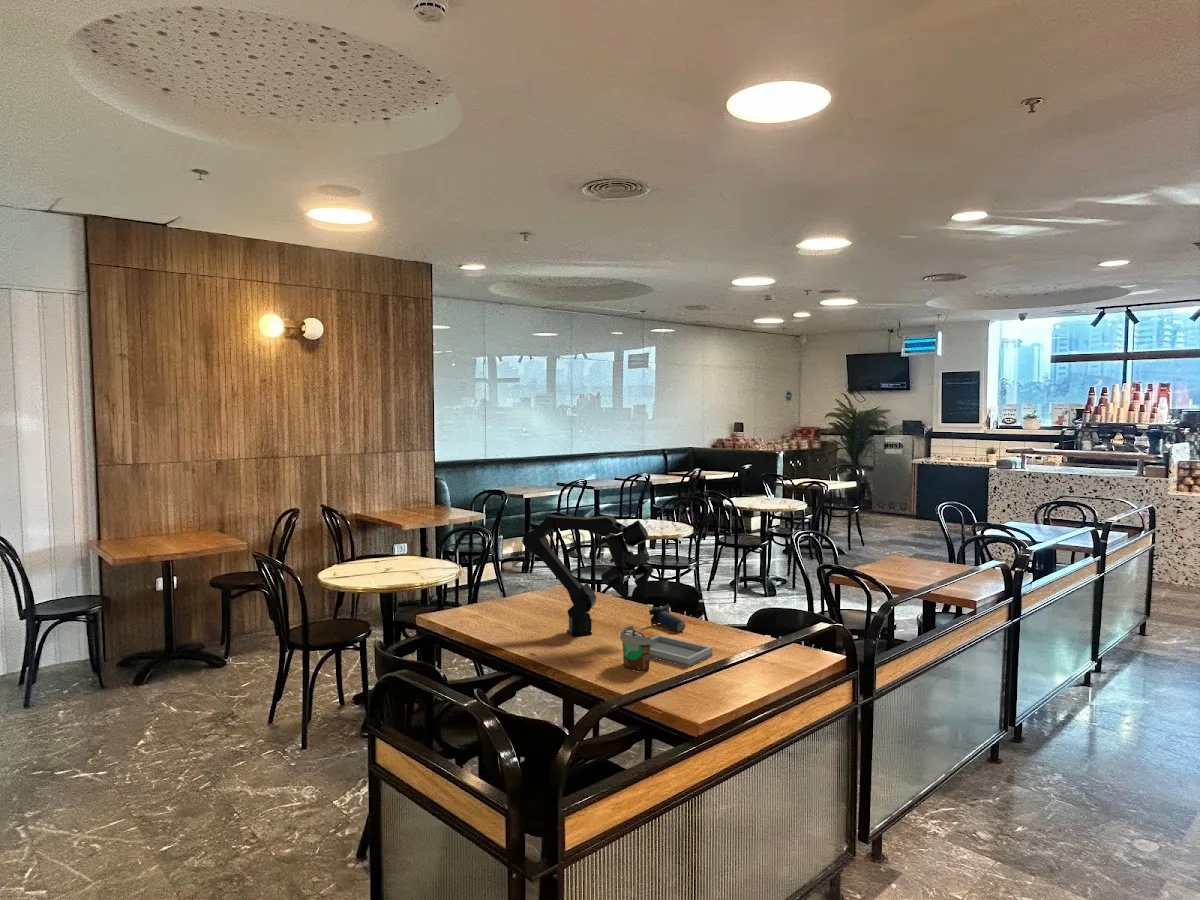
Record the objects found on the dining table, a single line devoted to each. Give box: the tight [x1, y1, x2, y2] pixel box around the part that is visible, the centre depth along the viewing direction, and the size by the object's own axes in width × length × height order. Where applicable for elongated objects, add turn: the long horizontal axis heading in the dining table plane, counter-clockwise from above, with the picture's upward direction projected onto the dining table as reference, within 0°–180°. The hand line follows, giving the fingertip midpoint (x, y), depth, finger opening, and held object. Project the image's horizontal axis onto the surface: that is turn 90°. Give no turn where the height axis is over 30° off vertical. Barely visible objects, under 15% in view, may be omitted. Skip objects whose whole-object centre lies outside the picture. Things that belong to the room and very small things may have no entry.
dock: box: [650, 634, 713, 668], centre depth 217 cm, size 13×19×2 cm
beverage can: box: [648, 603, 686, 633], centre depth 244 cm, size 9×8×12 cm
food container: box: [619, 625, 652, 672], centre depth 206 cm, size 12×6×10 cm, turn 23°
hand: (637, 598), depth 225 cm, fingers open, 9 cm apart
